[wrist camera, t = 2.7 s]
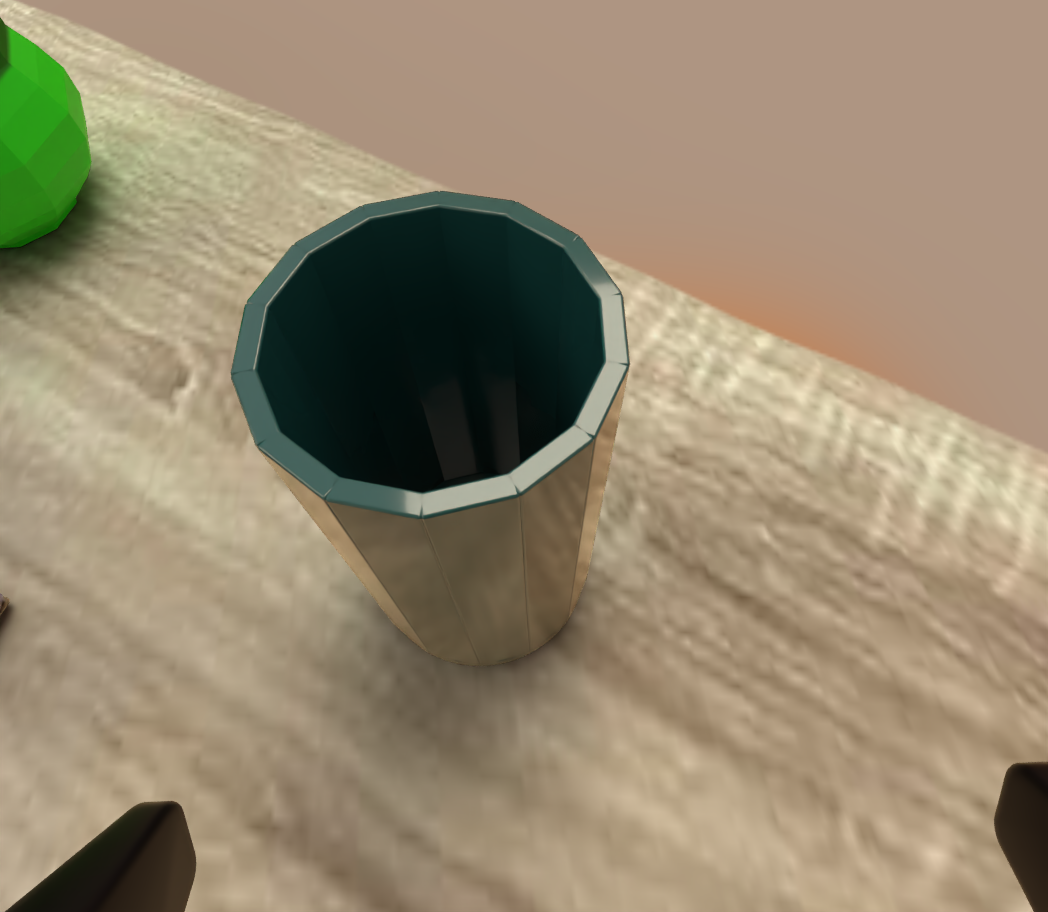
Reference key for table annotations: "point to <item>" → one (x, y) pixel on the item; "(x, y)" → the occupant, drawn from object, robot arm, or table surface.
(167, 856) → the robot arm
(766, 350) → the table surface
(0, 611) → the cake pan box
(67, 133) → the plastic bottle
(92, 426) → the table surface
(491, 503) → the teal and beige cup
